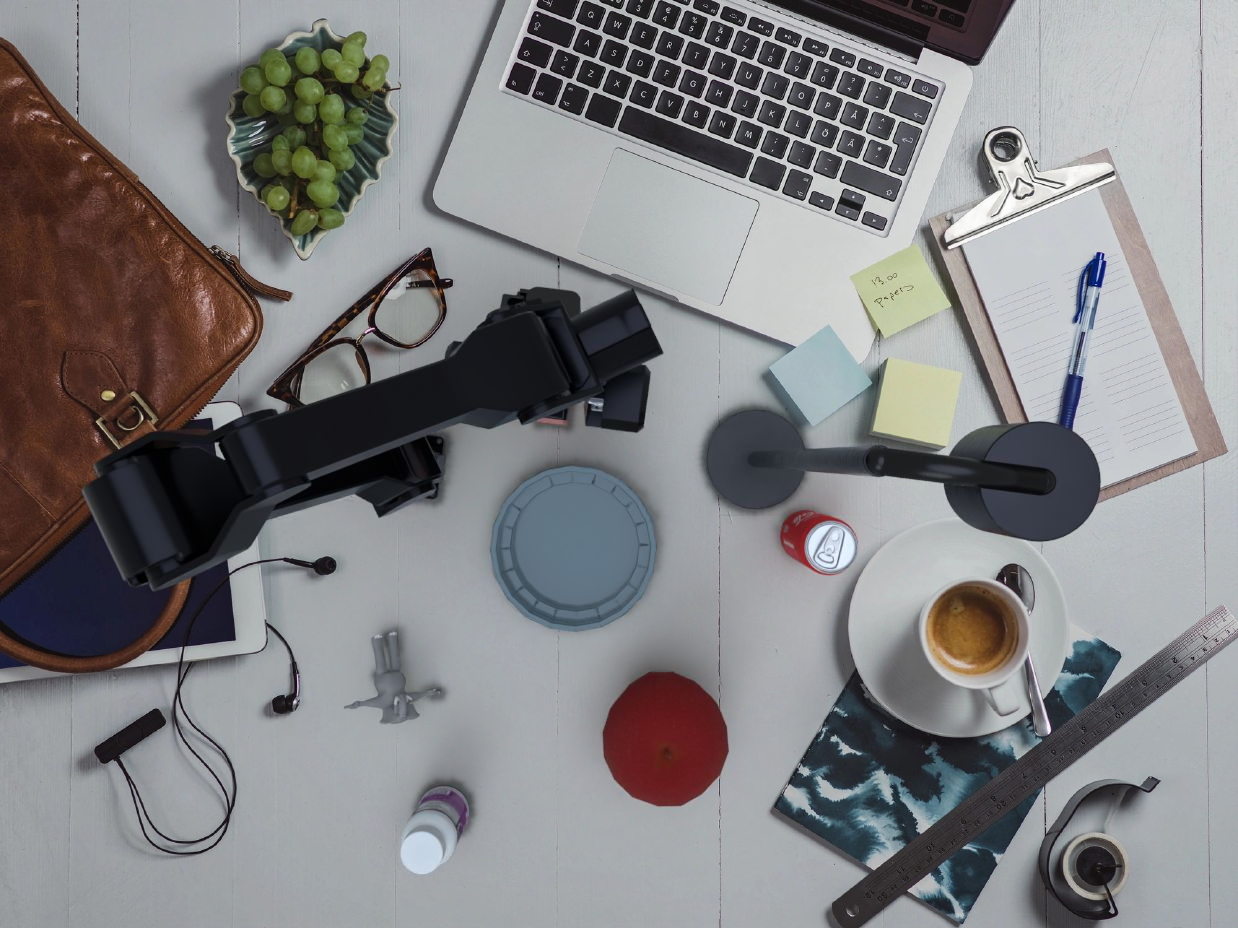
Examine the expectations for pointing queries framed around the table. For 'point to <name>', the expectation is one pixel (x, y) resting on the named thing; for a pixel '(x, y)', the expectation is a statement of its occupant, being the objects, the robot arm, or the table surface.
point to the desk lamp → (924, 471)
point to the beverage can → (819, 542)
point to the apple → (665, 739)
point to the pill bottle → (434, 829)
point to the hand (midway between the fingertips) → (555, 394)
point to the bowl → (573, 548)
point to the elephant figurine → (391, 685)
